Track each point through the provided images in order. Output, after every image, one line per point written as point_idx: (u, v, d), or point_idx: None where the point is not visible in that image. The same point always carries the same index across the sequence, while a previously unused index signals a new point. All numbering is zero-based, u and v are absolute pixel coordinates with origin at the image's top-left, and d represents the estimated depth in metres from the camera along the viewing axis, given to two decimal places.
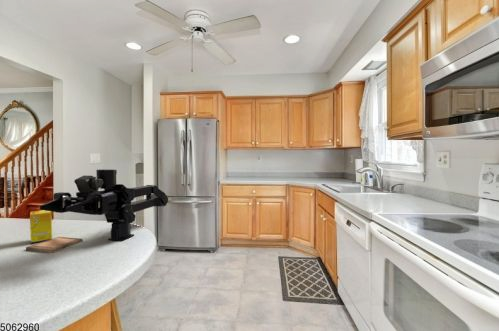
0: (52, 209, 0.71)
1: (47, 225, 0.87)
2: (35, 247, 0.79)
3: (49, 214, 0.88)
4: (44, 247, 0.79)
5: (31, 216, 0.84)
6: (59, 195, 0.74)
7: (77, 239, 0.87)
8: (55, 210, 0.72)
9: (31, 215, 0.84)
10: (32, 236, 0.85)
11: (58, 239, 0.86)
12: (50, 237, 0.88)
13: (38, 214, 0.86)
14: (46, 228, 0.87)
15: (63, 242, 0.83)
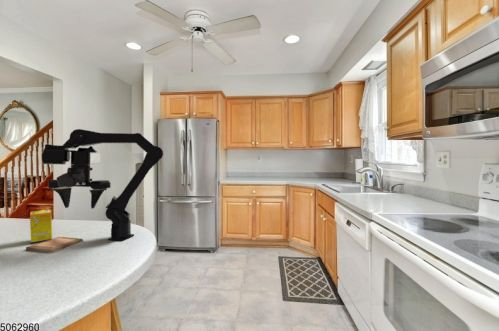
0: (69, 197, 0.86)
1: (47, 225, 0.87)
2: (35, 247, 0.79)
3: (49, 214, 0.88)
4: (44, 247, 0.79)
5: (31, 216, 0.84)
6: (58, 190, 0.83)
7: (77, 239, 0.87)
8: (69, 194, 0.87)
9: (31, 215, 0.84)
10: (32, 236, 0.85)
11: (58, 239, 0.86)
12: (50, 237, 0.88)
13: (38, 214, 0.86)
14: (46, 228, 0.87)
15: (63, 242, 0.83)
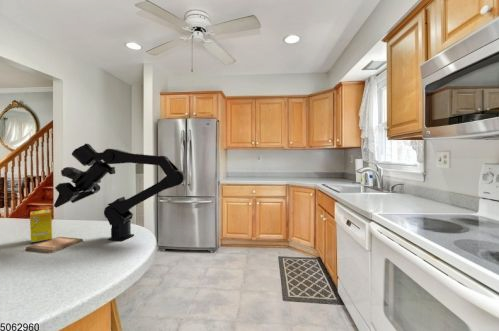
0: (80, 197, 0.94)
1: (47, 225, 0.87)
2: (35, 247, 0.79)
3: (49, 214, 0.88)
4: (44, 247, 0.79)
5: (31, 216, 0.84)
6: None
7: (77, 239, 0.87)
8: (83, 196, 0.94)
9: (31, 215, 0.84)
10: (32, 236, 0.85)
11: (58, 239, 0.86)
12: (50, 237, 0.88)
13: (38, 214, 0.86)
14: (46, 228, 0.87)
15: (63, 242, 0.83)
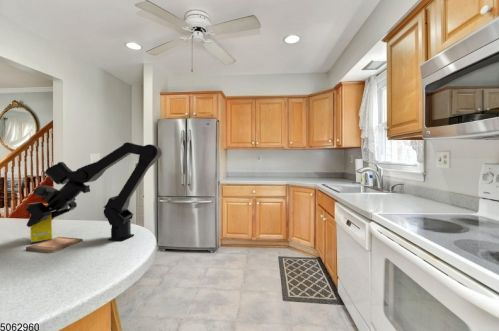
0: (54, 215, 0.93)
1: (47, 225, 0.87)
2: (35, 247, 0.79)
3: None
4: (44, 247, 0.79)
5: None
6: None
7: (77, 239, 0.87)
8: (57, 215, 0.93)
9: None
10: (32, 236, 0.85)
11: (58, 239, 0.86)
12: (50, 237, 0.88)
13: None
14: (46, 228, 0.87)
15: (63, 242, 0.83)
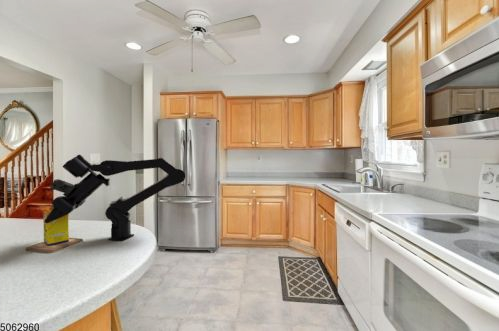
0: None
1: (64, 225, 0.83)
2: (35, 247, 0.79)
3: None
4: (44, 247, 0.79)
5: None
6: None
7: (77, 239, 0.87)
8: None
9: None
10: (49, 237, 0.80)
11: None
12: (67, 238, 0.83)
13: None
14: (63, 229, 0.82)
15: None
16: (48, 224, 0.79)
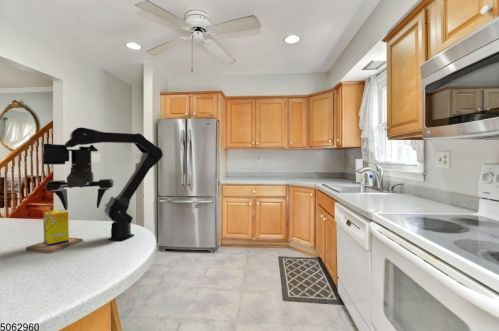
0: None
1: (64, 226, 0.83)
2: (35, 247, 0.79)
3: (66, 214, 0.83)
4: (44, 247, 0.79)
5: (48, 216, 0.79)
6: (59, 192, 0.78)
7: (77, 239, 0.87)
8: (66, 196, 0.82)
9: (48, 215, 0.79)
10: (49, 238, 0.80)
11: None
12: (67, 238, 0.83)
13: (55, 214, 0.81)
14: (63, 229, 0.82)
15: None
16: (48, 224, 0.79)
